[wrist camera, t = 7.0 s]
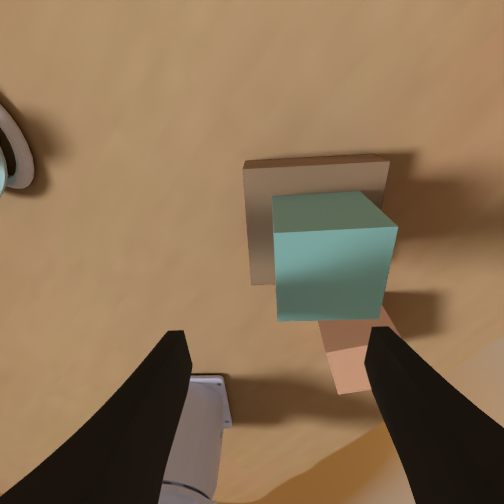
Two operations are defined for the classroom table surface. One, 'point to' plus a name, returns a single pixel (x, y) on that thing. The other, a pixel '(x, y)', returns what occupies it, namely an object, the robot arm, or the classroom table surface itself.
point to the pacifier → (21, 152)
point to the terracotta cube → (350, 350)
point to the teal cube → (330, 256)
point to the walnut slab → (298, 183)
